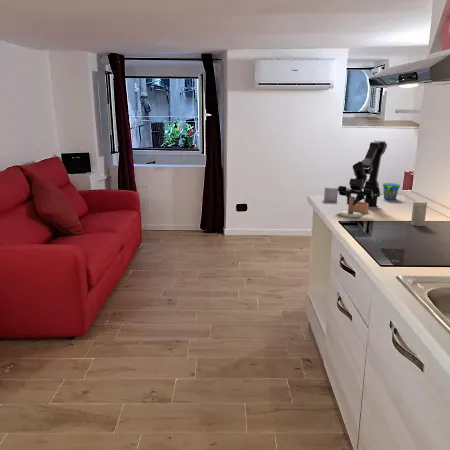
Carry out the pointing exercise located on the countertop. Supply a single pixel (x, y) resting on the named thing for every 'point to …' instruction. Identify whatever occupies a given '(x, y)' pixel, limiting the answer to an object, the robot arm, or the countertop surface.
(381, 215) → the countertop surface
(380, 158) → the robot arm
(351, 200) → the lid
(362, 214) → the mat
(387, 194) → the snack cup
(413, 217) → the skincare box
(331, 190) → the medicine box
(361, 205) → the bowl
